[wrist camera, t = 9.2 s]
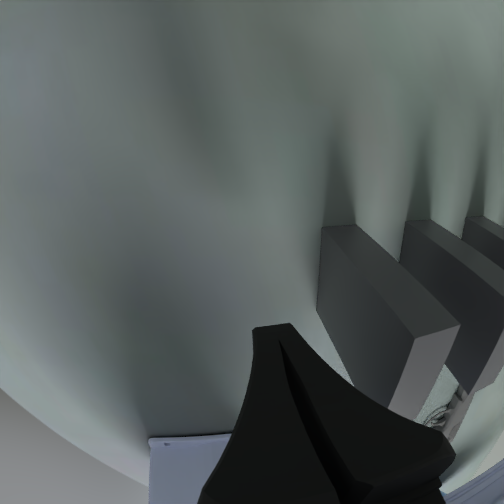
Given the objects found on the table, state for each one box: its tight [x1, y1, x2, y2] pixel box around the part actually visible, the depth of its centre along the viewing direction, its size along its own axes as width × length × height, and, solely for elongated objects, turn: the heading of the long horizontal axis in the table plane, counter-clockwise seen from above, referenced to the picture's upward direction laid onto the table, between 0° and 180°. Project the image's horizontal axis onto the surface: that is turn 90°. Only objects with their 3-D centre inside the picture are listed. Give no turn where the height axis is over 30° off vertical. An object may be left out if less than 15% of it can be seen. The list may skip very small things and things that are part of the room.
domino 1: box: [316, 225, 461, 420], centre depth 12 cm, size 2×5×8 cm, turn 2°
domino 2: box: [399, 220, 504, 396], centre depth 13 cm, size 2×5×8 cm, turn 2°
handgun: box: [425, 384, 475, 443], centre depth 27 cm, size 2×16×12 cm
